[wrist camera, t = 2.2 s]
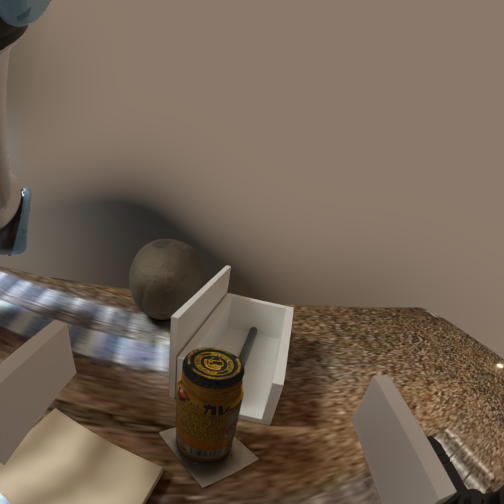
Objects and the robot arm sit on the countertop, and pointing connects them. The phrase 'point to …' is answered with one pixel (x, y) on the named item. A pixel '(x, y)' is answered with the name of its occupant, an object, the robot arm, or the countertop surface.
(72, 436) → the pad
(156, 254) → the kiwi fruit
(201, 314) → the white tray with rod
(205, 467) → the condiment
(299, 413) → the countertop surface
